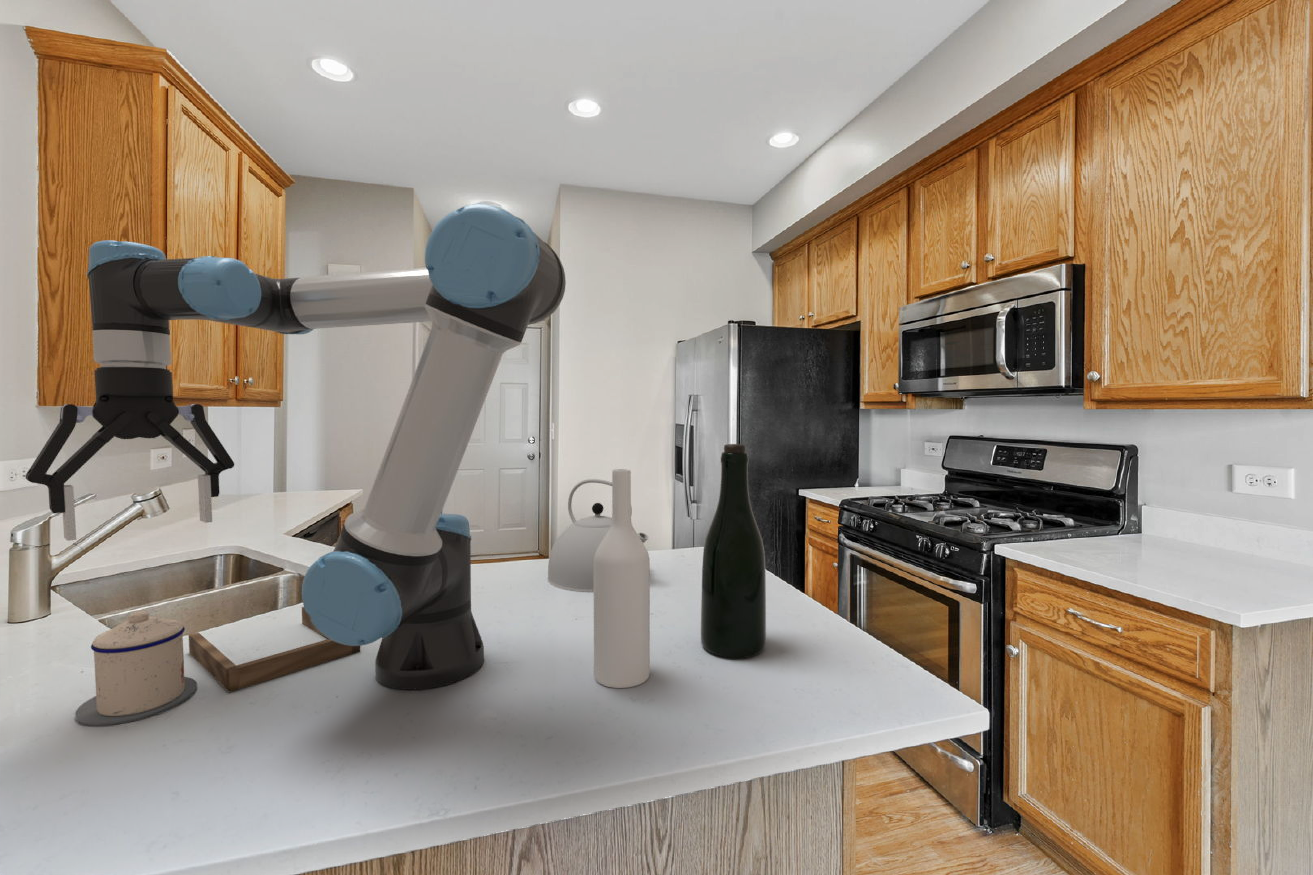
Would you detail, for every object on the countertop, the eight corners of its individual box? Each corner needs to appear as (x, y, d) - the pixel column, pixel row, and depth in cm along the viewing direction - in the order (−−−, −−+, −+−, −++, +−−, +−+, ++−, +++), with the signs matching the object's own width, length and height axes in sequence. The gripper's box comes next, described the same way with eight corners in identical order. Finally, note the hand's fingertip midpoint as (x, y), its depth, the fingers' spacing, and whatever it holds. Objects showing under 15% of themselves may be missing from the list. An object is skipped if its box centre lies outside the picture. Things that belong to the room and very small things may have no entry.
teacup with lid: (203, 689, 79) (200, 604, 79) (125, 724, 71) (120, 629, 70) (143, 676, 83) (139, 595, 82) (61, 708, 74) (56, 618, 74)
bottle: (638, 659, 90) (638, 465, 89) (657, 682, 83) (658, 471, 81) (587, 668, 87) (586, 467, 86) (602, 692, 80) (601, 473, 78)
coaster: (208, 698, 78) (208, 694, 78) (83, 737, 69) (83, 732, 69) (184, 672, 86) (184, 668, 86) (69, 704, 77) (68, 700, 77)
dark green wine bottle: (687, 646, 95) (688, 444, 94) (727, 629, 103) (728, 441, 101) (739, 666, 88) (741, 447, 86) (778, 646, 95) (781, 444, 94)
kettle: (674, 574, 137) (674, 478, 135) (616, 601, 118) (616, 490, 116) (590, 559, 150) (590, 471, 149) (526, 581, 131) (525, 481, 130)
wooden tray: (360, 651, 93) (359, 632, 93) (229, 692, 80) (228, 670, 80) (309, 621, 106) (308, 605, 106) (189, 652, 93) (188, 634, 92)
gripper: (237, 372, 88) (244, 512, 89) (-15, 363, 69) (-3, 543, 70) (255, 369, 83) (262, 517, 84) (-9, 359, 64) (3, 552, 65)
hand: (142, 529), depth 77 cm, fingers open, 13 cm apart
